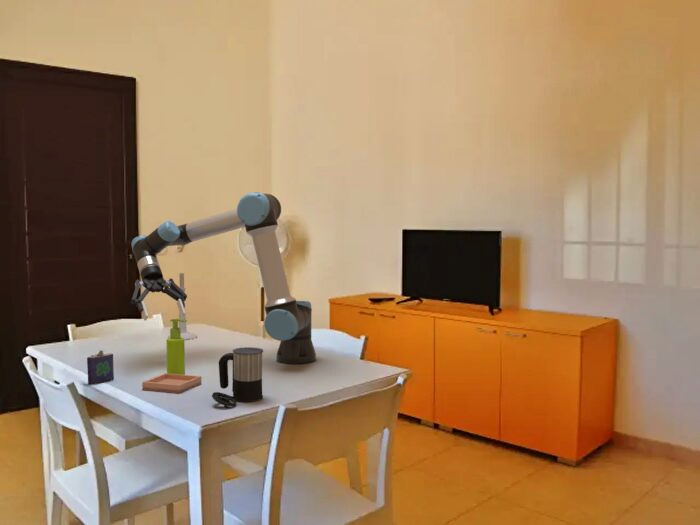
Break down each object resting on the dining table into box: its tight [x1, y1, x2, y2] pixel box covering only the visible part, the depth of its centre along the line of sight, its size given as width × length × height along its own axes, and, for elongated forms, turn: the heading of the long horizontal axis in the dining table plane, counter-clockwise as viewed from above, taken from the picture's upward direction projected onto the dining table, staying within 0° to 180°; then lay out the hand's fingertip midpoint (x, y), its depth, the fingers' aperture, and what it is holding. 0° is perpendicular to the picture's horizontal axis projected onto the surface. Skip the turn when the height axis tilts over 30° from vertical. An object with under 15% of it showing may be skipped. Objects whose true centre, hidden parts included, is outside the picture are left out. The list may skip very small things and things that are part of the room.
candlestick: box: [167, 272, 198, 341], centre depth 294 cm, size 13×13×30 cm
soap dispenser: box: [166, 318, 188, 375], centre depth 221 cm, size 6×7×20 cm
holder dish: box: [142, 372, 202, 394], centre depth 208 cm, size 14×13×2 cm
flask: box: [86, 349, 115, 386], centre depth 214 cm, size 9×3×11 cm, turn 144°
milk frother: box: [211, 346, 264, 408], centre depth 192 cm, size 14×16×15 cm
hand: (165, 316), depth 229 cm, fingers open, 13 cm apart
